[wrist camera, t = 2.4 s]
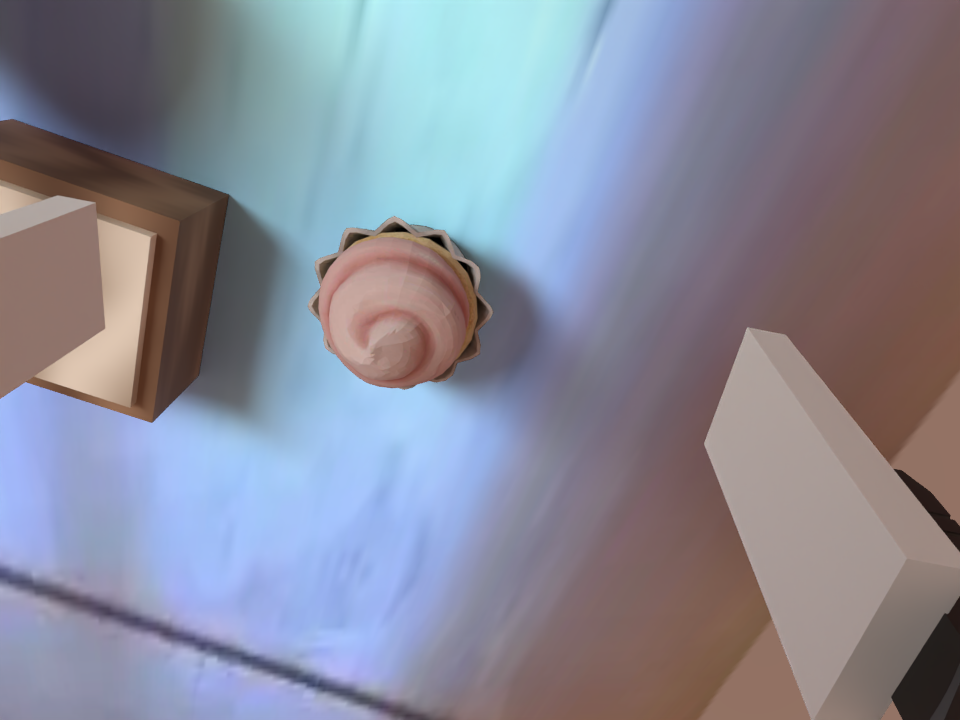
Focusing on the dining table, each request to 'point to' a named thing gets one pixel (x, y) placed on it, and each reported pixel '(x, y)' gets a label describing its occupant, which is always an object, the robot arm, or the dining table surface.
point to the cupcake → (399, 304)
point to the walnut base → (126, 267)
